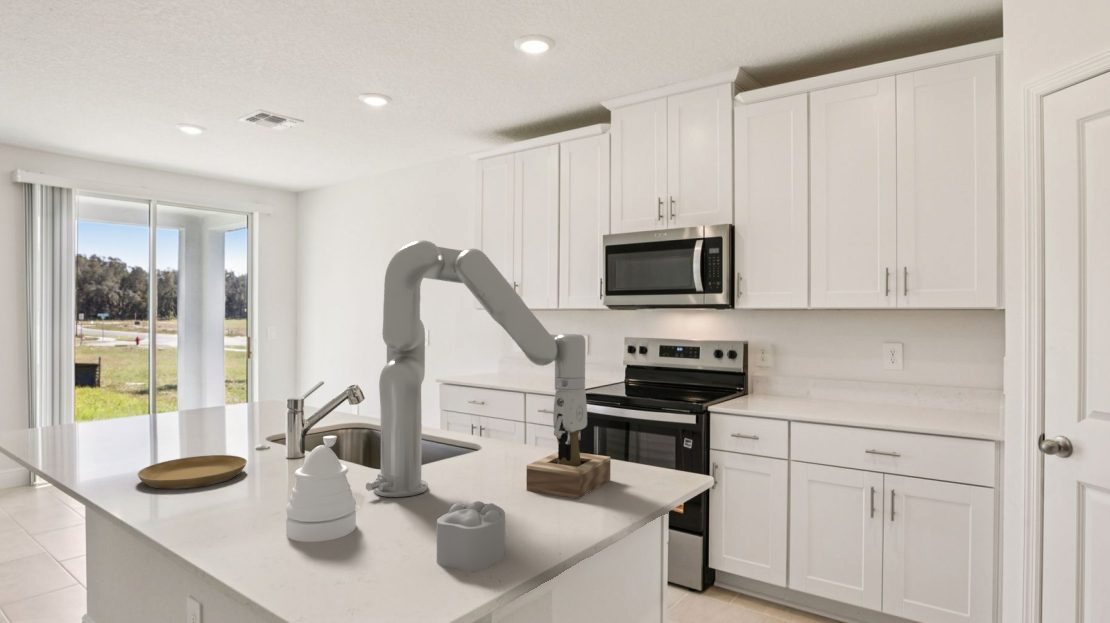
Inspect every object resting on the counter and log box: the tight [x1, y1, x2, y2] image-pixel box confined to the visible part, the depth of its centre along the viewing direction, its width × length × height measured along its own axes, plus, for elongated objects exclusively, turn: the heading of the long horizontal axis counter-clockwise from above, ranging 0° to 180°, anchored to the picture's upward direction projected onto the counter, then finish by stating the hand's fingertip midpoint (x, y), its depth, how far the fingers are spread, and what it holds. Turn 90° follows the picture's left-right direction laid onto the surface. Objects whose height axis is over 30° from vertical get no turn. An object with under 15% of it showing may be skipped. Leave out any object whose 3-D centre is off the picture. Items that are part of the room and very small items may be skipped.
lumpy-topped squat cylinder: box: [436, 500, 506, 573], centre depth 113 cm, size 10×13×9 cm
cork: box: [557, 428, 581, 467], centre depth 157 cm, size 6×6×11 cm
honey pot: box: [285, 435, 357, 543], centre depth 125 cm, size 13×13×18 cm
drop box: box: [526, 451, 611, 499], centre depth 157 cm, size 18×14×6 cm
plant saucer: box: [137, 454, 248, 490], centre depth 162 cm, size 24×24×3 cm
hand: (569, 457), depth 157 cm, fingers closed on cork, 4 cm apart
